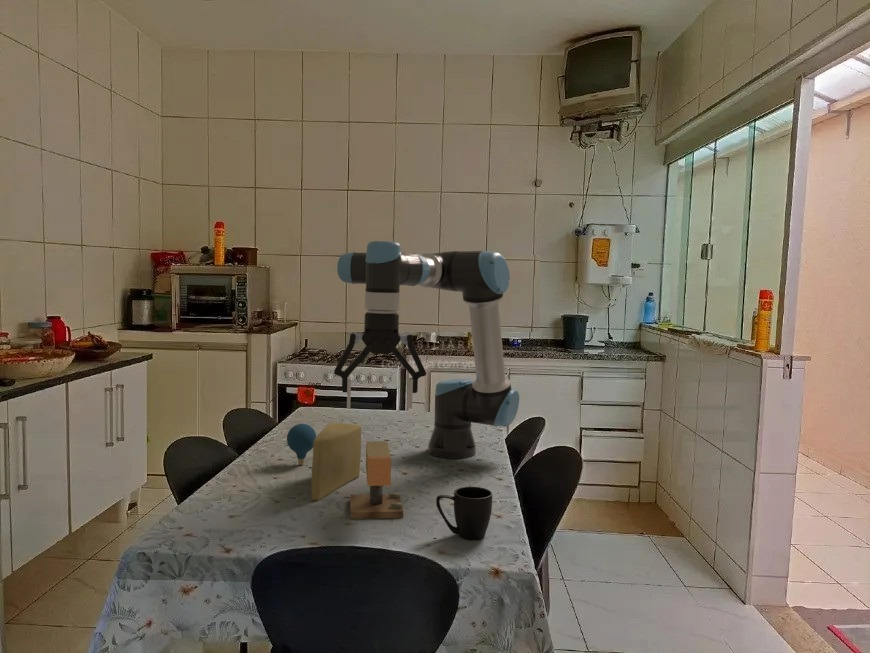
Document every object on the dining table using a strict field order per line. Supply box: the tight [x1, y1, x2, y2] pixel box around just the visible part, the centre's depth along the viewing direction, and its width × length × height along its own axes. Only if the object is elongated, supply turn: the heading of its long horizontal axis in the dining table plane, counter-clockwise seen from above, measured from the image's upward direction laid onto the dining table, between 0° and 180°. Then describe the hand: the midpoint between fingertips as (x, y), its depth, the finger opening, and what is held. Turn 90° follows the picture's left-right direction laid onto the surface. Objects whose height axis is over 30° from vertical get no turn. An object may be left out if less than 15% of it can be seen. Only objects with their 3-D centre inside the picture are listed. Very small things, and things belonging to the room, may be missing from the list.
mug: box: [435, 486, 493, 542], centre depth 141 cm, size 8×12×10 cm
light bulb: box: [286, 423, 317, 466], centre depth 189 cm, size 8×8×12 cm
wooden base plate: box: [349, 486, 404, 520], centre depth 155 cm, size 12×12×6 cm
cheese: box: [310, 422, 362, 501], centre depth 170 cm, size 22×10×15 cm, turn 169°
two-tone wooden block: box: [365, 440, 392, 487], centre depth 150 cm, size 15×5×9 cm, turn 7°
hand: (379, 407), depth 146 cm, fingers open, 13 cm apart
